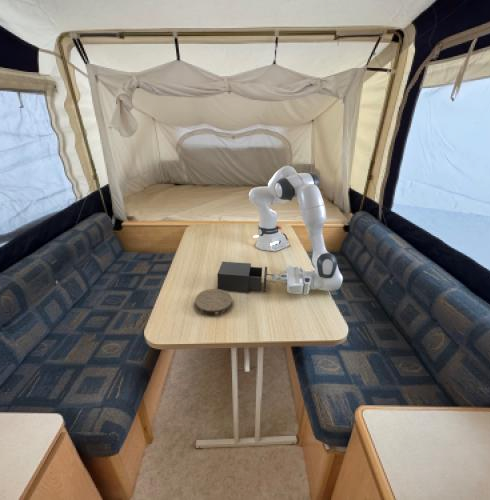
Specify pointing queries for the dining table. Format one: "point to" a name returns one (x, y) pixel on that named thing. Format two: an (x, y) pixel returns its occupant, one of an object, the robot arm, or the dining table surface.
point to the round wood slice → (213, 302)
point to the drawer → (258, 278)
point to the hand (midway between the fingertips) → (276, 277)
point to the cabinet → (234, 276)
